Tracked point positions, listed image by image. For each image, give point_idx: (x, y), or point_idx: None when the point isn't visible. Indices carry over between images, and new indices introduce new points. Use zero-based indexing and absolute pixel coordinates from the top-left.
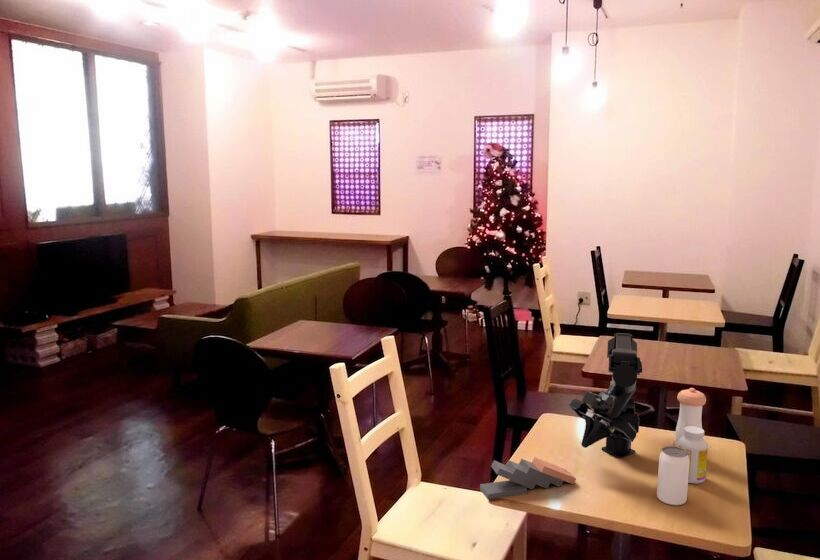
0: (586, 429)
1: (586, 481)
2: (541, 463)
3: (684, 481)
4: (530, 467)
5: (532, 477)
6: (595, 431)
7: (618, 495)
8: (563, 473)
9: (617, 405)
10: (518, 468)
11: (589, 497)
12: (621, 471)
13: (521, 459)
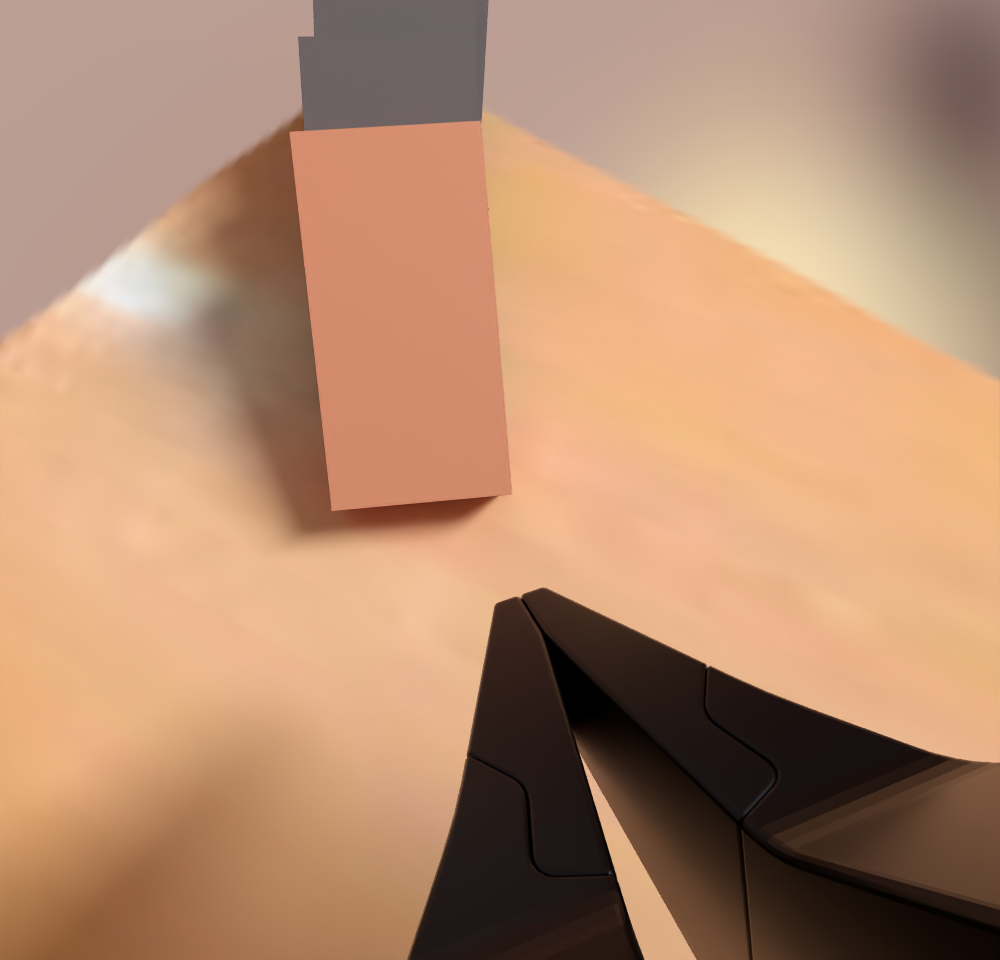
0: (730, 713)
1: (361, 633)
2: (346, 129)
3: None
4: (300, 42)
5: None
6: (445, 881)
7: (26, 813)
8: (319, 363)
9: None
10: (346, 4)
11: (116, 535)
12: None
13: (467, 40)
